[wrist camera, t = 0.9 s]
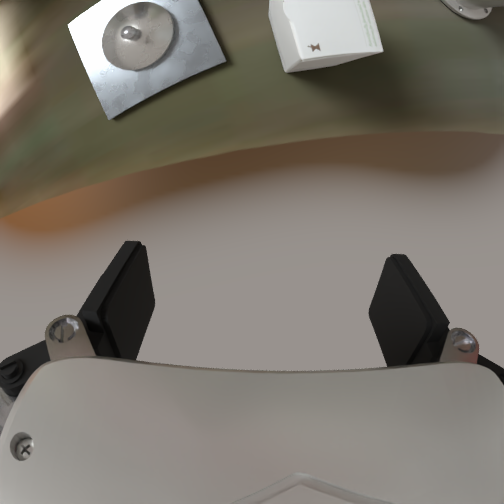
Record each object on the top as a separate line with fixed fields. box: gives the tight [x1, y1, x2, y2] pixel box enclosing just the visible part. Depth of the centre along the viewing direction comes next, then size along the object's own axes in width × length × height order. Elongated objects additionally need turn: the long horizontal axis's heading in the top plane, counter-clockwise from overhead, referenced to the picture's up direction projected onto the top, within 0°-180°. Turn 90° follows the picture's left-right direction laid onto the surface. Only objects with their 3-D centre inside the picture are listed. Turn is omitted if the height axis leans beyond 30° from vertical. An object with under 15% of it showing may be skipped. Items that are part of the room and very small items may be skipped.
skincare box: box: [269, 0, 383, 73], centre depth 21 cm, size 8×7×16 cm
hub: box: [68, 0, 227, 120], centre depth 25 cm, size 16×16×4 cm
